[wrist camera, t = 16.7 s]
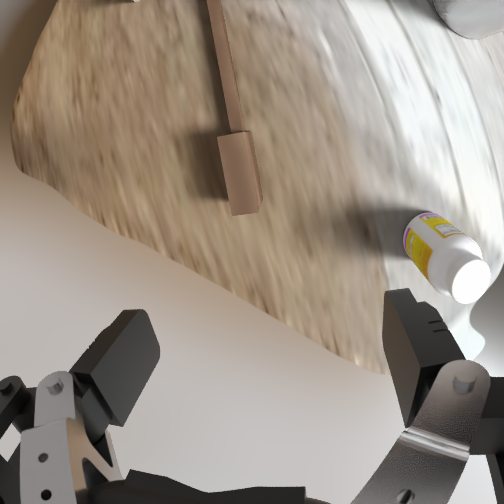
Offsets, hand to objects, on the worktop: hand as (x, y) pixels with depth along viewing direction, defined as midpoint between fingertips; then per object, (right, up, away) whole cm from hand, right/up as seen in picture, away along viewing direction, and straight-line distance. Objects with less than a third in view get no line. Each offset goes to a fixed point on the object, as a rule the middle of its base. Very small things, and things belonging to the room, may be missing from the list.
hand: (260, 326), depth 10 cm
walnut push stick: (-3, +22, +22) cm, 31 cm away
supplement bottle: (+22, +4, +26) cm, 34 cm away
